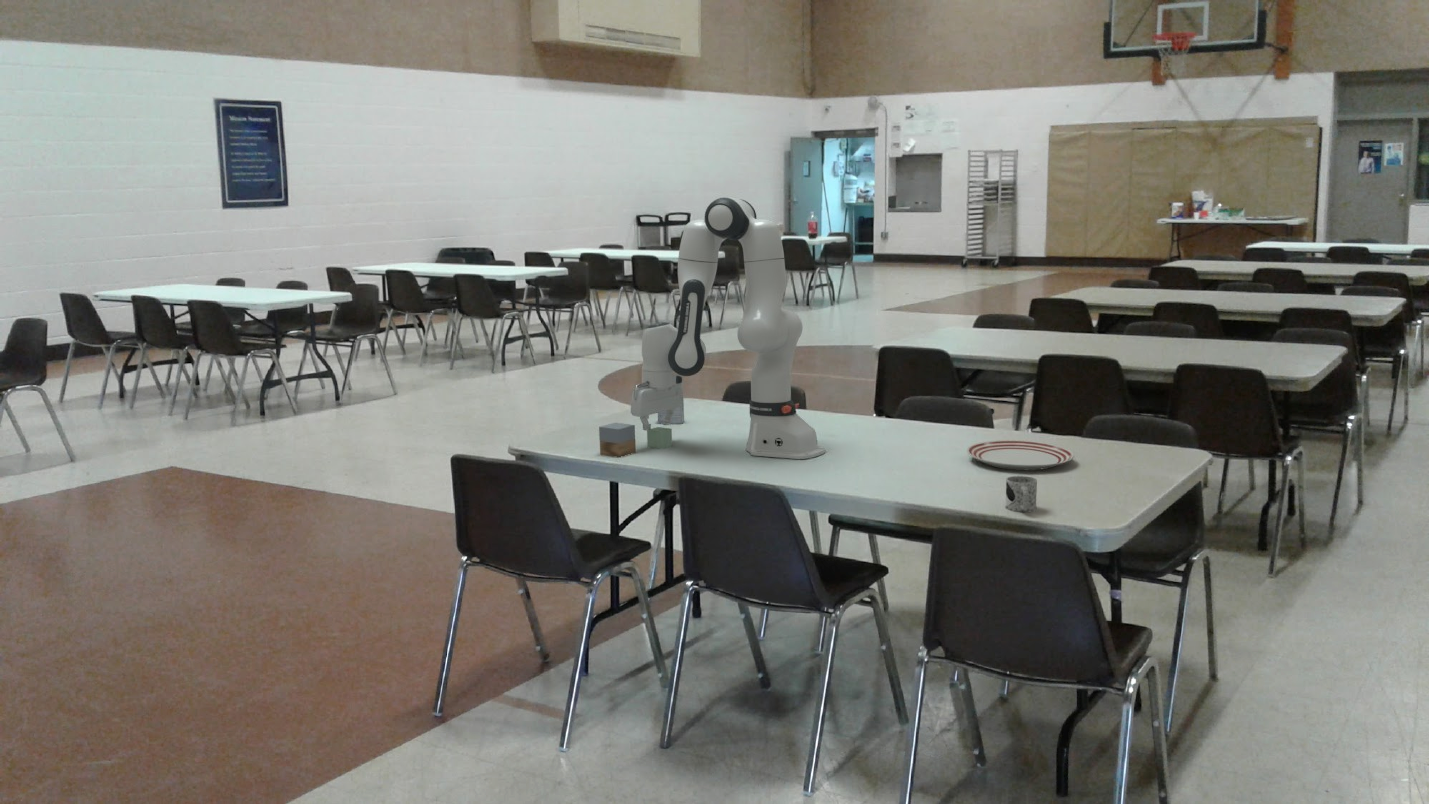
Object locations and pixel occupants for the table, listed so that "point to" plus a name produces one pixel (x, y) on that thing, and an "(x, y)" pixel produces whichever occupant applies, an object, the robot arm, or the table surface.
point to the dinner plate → (1019, 454)
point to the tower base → (617, 448)
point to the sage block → (659, 437)
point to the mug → (1021, 493)
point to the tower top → (617, 433)
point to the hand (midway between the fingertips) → (657, 427)
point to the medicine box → (677, 416)
